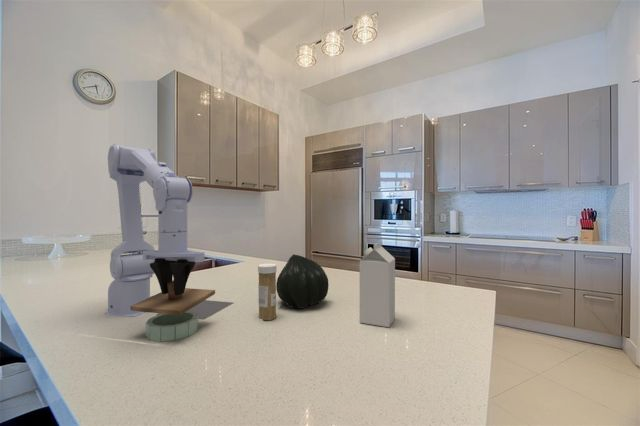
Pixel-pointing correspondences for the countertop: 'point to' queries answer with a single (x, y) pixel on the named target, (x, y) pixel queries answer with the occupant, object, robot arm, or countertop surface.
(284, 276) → the squash
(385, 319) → the milk carton
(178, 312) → the lid
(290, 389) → the countertop surface
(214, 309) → the mat
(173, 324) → the bowl
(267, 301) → the sprinkles bottle
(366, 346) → the countertop surface
